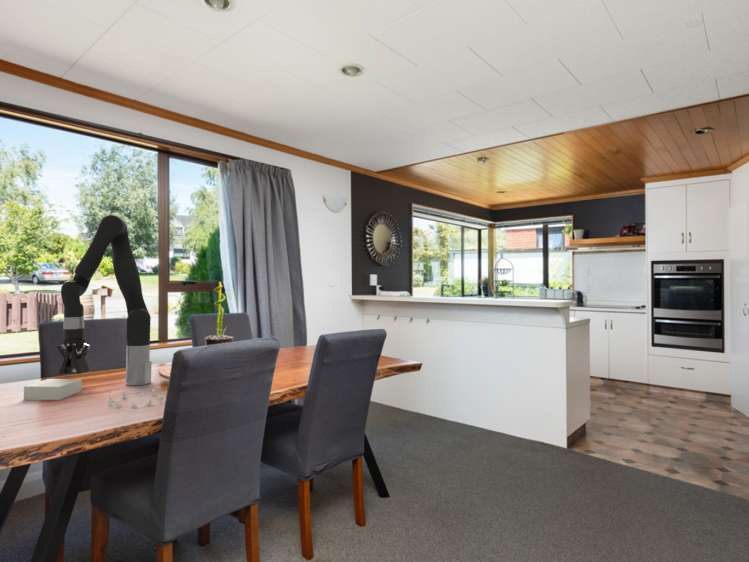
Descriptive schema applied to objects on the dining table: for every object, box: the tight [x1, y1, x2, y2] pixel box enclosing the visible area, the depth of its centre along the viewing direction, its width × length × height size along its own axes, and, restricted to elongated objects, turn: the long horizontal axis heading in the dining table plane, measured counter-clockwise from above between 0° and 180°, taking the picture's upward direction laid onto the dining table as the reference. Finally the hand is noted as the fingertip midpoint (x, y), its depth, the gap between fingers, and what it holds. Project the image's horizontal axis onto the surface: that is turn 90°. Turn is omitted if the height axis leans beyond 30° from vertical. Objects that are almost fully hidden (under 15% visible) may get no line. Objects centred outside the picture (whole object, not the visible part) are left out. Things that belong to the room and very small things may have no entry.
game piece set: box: [106, 388, 164, 409], centre depth 172 cm, size 19×20×4 cm
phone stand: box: [59, 345, 90, 375], centre depth 194 cm, size 9×6×12 cm, turn 91°
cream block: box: [23, 378, 83, 401], centre depth 179 cm, size 13×14×5 cm
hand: (74, 367), depth 194 cm, fingers closed on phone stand, 1 cm apart
